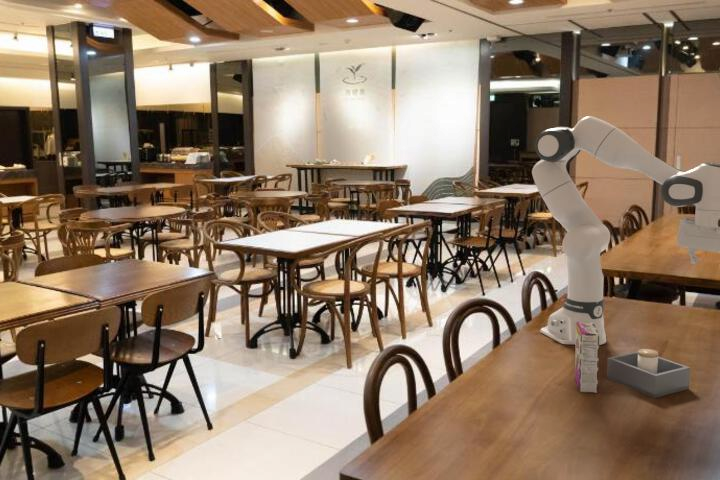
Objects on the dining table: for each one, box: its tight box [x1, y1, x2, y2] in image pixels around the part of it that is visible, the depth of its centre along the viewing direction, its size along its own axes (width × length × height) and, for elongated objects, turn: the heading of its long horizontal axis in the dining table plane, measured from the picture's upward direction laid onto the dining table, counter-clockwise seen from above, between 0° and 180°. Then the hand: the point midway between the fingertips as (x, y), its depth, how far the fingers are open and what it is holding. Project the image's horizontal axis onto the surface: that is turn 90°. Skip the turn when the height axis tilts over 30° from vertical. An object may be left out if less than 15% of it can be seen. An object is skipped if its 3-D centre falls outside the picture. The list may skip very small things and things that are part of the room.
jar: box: [637, 348, 659, 374], centre depth 178 cm, size 5×5×8 cm
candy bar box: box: [574, 322, 600, 394], centre depth 177 cm, size 11×5×16 cm, turn 168°
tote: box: [606, 350, 691, 399], centre depth 178 cm, size 16×13×6 cm
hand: (708, 265), depth 191 cm, fingers open, 8 cm apart
